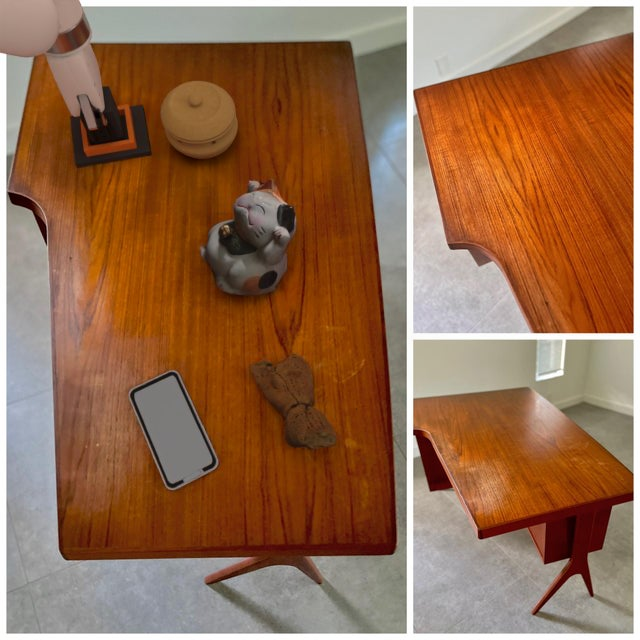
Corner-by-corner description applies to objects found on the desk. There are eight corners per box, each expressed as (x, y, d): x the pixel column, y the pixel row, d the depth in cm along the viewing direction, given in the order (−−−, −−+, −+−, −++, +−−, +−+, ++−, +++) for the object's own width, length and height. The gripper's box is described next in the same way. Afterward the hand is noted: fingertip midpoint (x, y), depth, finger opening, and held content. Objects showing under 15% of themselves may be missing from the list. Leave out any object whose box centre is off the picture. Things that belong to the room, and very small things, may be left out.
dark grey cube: (91, 142, 85) (78, 116, 80) (88, 117, 87) (75, 90, 81) (123, 137, 86) (112, 111, 81) (119, 113, 88) (108, 85, 82)
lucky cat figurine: (193, 234, 83) (211, 156, 73) (265, 238, 88) (290, 166, 79) (213, 304, 74) (236, 225, 65) (292, 304, 80) (323, 231, 70)
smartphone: (176, 367, 74) (221, 465, 69) (177, 369, 75) (221, 466, 70) (125, 391, 73) (167, 493, 68) (127, 393, 73) (169, 493, 69)
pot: (237, 171, 87) (230, 128, 78) (165, 168, 87) (149, 125, 78) (242, 114, 92) (236, 68, 82) (174, 111, 91) (160, 64, 82)
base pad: (77, 168, 86) (71, 158, 84) (72, 120, 90) (66, 109, 88) (151, 155, 88) (148, 144, 86) (143, 108, 91) (139, 97, 89)
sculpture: (291, 453, 60) (263, 333, 66) (269, 471, 69) (246, 364, 75) (355, 440, 64) (323, 327, 69) (326, 459, 72) (300, 357, 78)
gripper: (24, -15, 72) (76, 89, 89) (32, 80, 66) (86, 172, 83) (82, -22, 73) (122, 82, 90) (94, 70, 67) (135, 163, 84)
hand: (104, 124), depth 86 cm, fingers closed on dark grey cube, 5 cm apart
